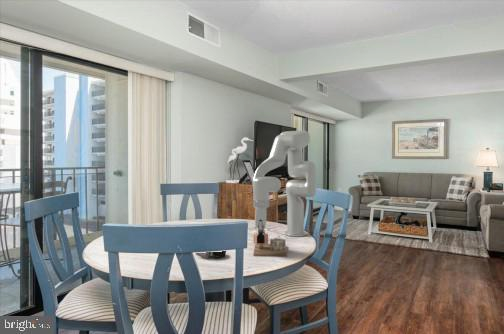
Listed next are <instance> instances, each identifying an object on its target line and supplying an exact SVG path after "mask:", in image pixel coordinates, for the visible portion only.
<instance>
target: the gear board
mask: <svg viewBox="0 0 504 334" xmlns="http://www.w3.org/2000/svg"><path fill="white" fill-rule="evenodd" d="M269 242H270V243H267V244H262V245H259V244H255V243H254V250H253V256H254V257H285V258H286V257H287V256H288V255H287V254H288V253H287V245H286V239H284V238H276V237H274V238H271V239H270V241H269Z"/></svg>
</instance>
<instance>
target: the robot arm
mask: <svg viewBox="0 0 504 334" xmlns="http://www.w3.org/2000/svg"><path fill="white" fill-rule="evenodd" d="M310 141H311V135H310V133H309V132H308V131H307V130H286V131H282V132H281V133H280V134H278V135H276V137H275V138H274V140H273V143H272V147H271V150H270V151H269V152H270V153H269V156H268V158H266V159H265V160H264V161H262V162H261V164H259V166H257V168H256V170H255V171H254V172H255V173H254V176H253V178H252V184H251V185H252V188H253V190H252V191H253V195H252V196H253V198H252V199H253V203H252V205H253V208H255V209H254V210H255V211H254V229H255V230H256V229H257V233H258V235H257V243H264V233H265V232H266V231H265V229H266V225H267V209H268V208H270V193H277V192H278V191H280V190H281V187H282V182H281V180H280V178H277V177H274V176H265V175H266V174H267V173H269V172H270V171H272V170H275V169H277V168H279V167H282V166H283V165H284V164H285V163H286V158H287V174H288V175H289V177H290V178H295V179H289V180H288V181H287V182H286V184H285V193H286V200H287V201H286V202H287V203H286V204H287V210H286V212H287V214H286V215H287V216H286V217H287V218H286V221H287V222H286V230H285V231H284V235H285V236H288V237H295V238H297V237H298V238H299V237H300V238H301V237H305V236H307V234H308V233H307V232H306V230H305V228H304V227H305V226H304V225H305V203H304V201H303V199H302V198H313V197H315V196H316V193H317V168H316V164H315V163H314V162H313V161H310V160H304V156H303V150H302V149H304V148H305V147H307V146H308V145H309V143H310ZM296 178H297V179H296ZM300 178H301V179H300ZM303 179H306V180H303Z"/></svg>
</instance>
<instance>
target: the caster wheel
mask: <svg viewBox="0 0 504 334" xmlns="http://www.w3.org/2000/svg"><path fill="white" fill-rule="evenodd" d="M226 253H227V250H226V251H222V252H206V253H196V252H195V255H196V256H198V257H200V258H202V259H205V260H209V256H211V257H216V258H225V257H226Z"/></svg>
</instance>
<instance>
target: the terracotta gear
mask: <svg viewBox="0 0 504 334" xmlns="http://www.w3.org/2000/svg"><path fill="white" fill-rule="evenodd" d="M257 235H258V232H257V233H256V232H255V233H253V244H254V245H255V244H259V245H262V244H269V234H268V233H264V243H257Z"/></svg>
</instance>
